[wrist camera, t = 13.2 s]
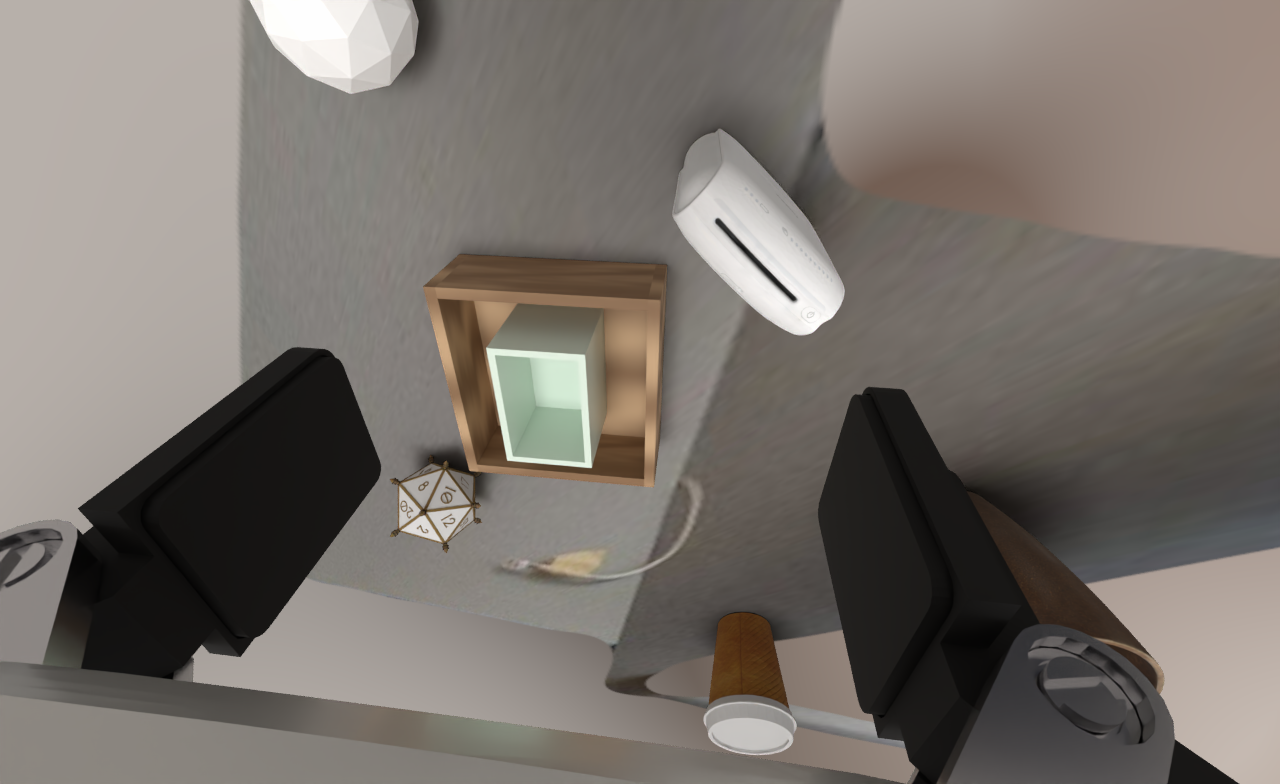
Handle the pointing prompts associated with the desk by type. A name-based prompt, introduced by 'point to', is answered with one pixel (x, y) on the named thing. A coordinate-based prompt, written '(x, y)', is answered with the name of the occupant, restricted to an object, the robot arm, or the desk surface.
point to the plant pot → (1061, 591)
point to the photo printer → (755, 235)
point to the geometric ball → (343, 38)
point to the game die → (436, 502)
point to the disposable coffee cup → (748, 689)
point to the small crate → (550, 383)
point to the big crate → (493, 285)
